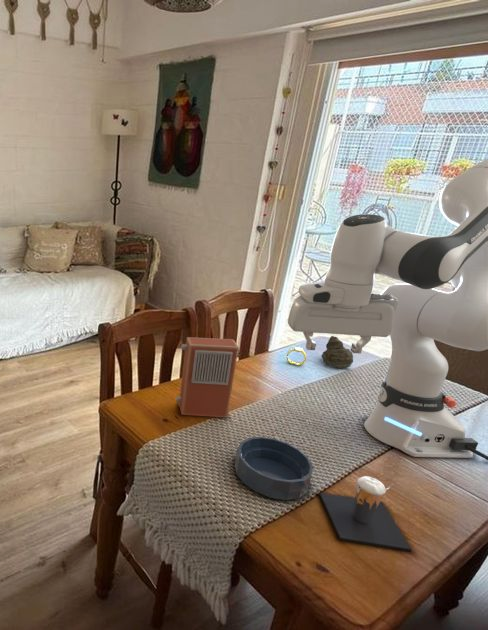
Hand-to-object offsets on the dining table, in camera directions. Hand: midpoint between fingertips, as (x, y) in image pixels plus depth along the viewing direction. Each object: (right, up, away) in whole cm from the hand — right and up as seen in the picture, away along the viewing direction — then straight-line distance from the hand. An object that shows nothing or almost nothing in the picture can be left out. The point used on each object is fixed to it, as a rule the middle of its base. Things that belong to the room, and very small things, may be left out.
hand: (332, 350), depth 99 cm
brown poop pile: (+33, -10, +53) cm, 63 cm away
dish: (-14, -28, +1) cm, 32 cm away
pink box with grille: (-22, -19, +25) cm, 38 cm away
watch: (+19, -9, +54) cm, 58 cm away
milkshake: (-1, -33, -12) cm, 35 cm away
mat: (-1, -33, -11) cm, 35 cm away
